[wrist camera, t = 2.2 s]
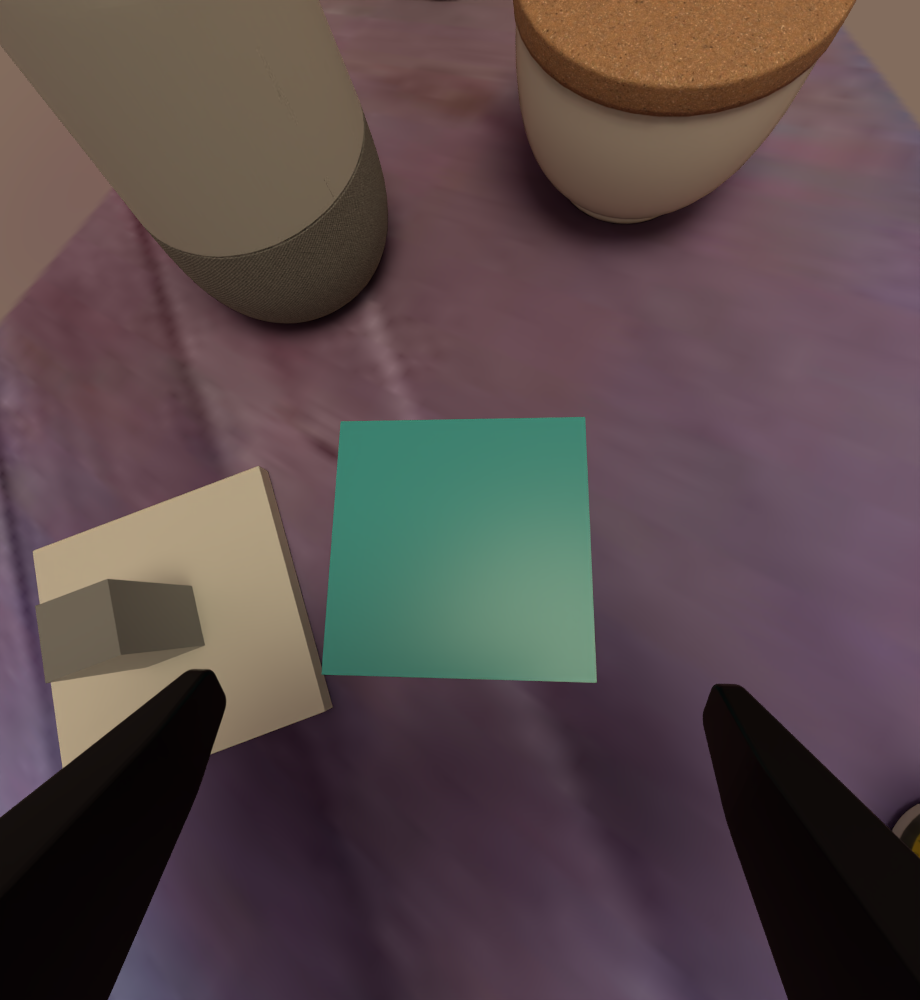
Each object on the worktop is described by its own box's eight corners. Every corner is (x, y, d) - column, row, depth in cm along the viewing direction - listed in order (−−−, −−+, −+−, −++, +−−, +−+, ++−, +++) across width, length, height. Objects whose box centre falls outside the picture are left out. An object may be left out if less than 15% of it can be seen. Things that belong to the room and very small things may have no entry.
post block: (332, 707, 18) (271, 741, 14) (86, 799, 18) (-63, 866, 14) (268, 471, 21) (196, 428, 16) (50, 553, 21) (-88, 535, 16)
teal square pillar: (548, 646, 18) (596, 682, 9) (412, 643, 19) (320, 674, 9) (545, 510, 19) (584, 417, 10) (417, 510, 20) (340, 421, 10)
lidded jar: (463, 178, 23) (438, -99, 14) (616, 45, 24) (684, -293, 15) (633, 312, 21) (734, 83, 12) (795, 159, 22) (1002, -160, 13)
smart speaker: (379, 356, 22) (169, -79, 8) (189, 337, 23) (-278, -74, 9) (416, 181, 24) (299, -406, 10) (240, 171, 25) (-81, -370, 11)
